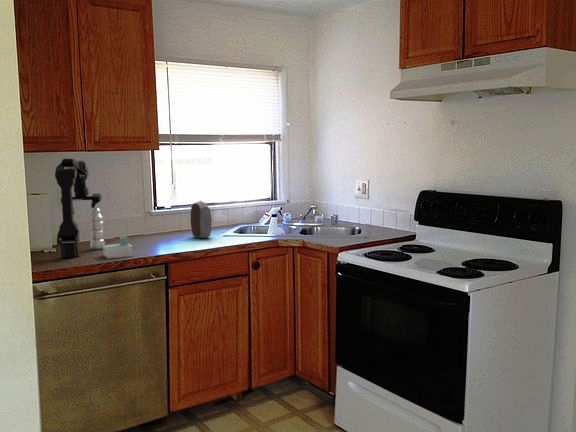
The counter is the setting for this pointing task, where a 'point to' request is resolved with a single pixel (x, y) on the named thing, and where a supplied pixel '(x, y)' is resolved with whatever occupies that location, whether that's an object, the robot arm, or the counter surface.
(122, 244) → the lid
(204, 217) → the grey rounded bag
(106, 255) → the tub
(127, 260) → the counter surface
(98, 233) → the plastic bottle
